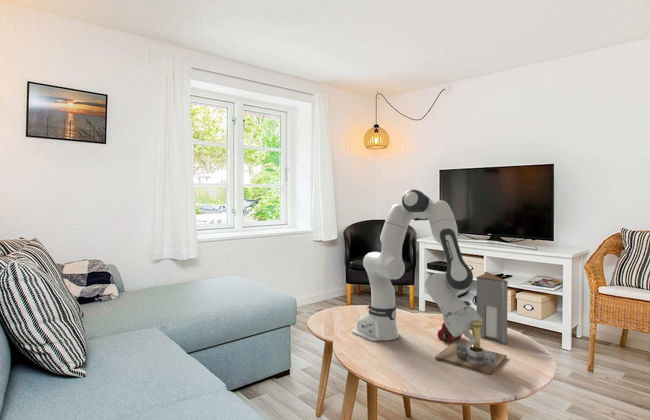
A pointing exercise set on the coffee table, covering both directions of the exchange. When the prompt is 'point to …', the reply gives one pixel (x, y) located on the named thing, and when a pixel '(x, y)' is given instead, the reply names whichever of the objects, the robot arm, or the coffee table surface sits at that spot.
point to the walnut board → (451, 357)
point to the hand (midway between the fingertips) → (477, 339)
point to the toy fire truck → (446, 334)
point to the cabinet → (492, 307)
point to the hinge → (476, 356)
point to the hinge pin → (476, 334)
